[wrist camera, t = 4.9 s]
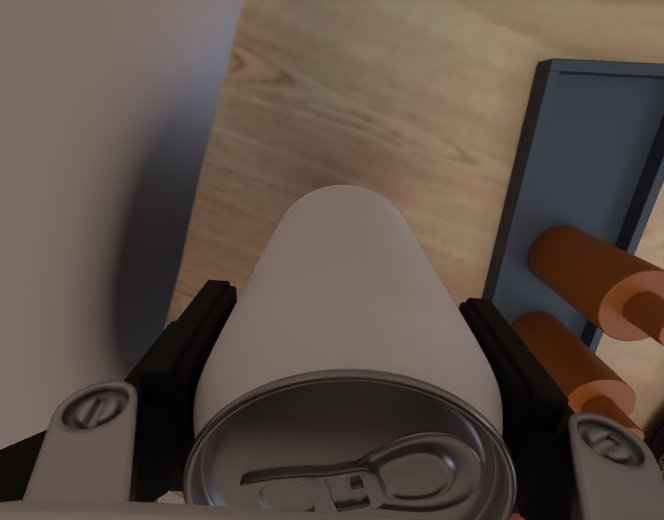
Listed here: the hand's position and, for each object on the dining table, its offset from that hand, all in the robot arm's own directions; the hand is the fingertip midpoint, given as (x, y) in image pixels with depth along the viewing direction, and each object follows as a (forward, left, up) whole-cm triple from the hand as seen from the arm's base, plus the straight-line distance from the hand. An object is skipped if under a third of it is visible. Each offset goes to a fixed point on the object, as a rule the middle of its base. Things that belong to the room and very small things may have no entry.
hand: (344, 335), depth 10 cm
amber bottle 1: (+5, +21, -23) cm, 31 cm away
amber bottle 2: (+14, +21, -23) cm, 34 cm away
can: (0, 0, -7) cm, 7 cm away
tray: (+5, +21, -23) cm, 32 cm away
